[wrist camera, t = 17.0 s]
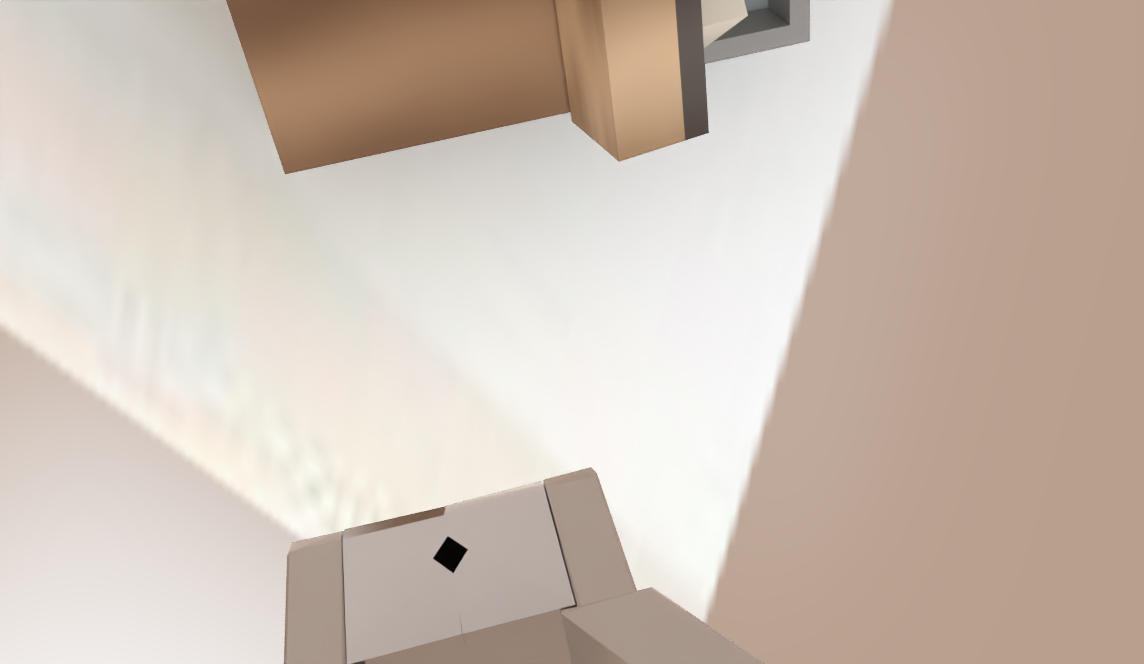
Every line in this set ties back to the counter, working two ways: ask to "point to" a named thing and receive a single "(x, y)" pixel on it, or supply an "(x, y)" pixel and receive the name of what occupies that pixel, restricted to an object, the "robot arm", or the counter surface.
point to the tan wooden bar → (634, 71)
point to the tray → (763, 29)
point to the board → (397, 71)
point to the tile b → (720, 17)
